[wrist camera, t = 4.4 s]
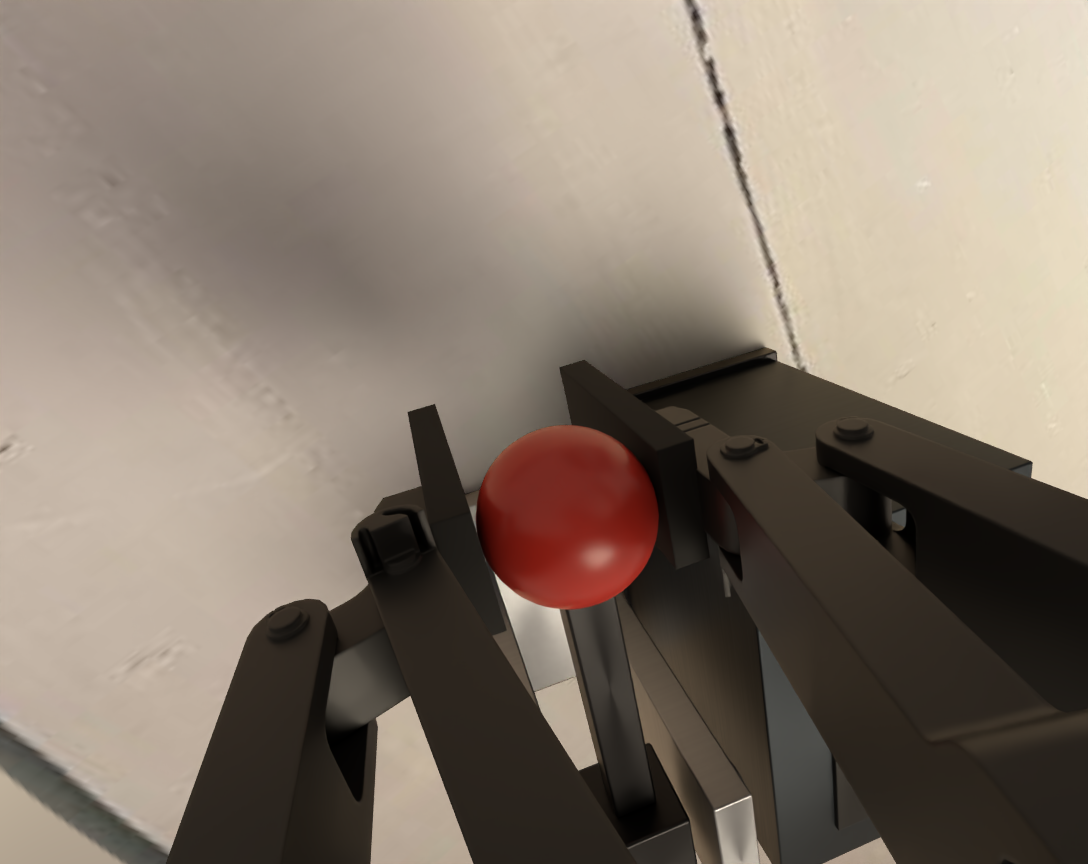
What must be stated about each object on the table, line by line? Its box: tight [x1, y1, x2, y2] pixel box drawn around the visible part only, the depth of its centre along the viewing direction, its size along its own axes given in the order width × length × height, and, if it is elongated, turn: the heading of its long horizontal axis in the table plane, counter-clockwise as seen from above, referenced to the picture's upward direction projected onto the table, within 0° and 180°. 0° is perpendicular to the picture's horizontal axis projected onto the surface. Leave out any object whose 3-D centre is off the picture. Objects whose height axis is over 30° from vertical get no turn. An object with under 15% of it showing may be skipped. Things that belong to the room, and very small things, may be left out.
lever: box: [476, 425, 697, 864], centre depth 14 cm, size 13×4×4 cm, turn 12°
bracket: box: [465, 490, 760, 864], centre depth 21 cm, size 10×6×14 cm, turn 12°
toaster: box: [622, 347, 1033, 864], centre depth 23 cm, size 13×8×12 cm
